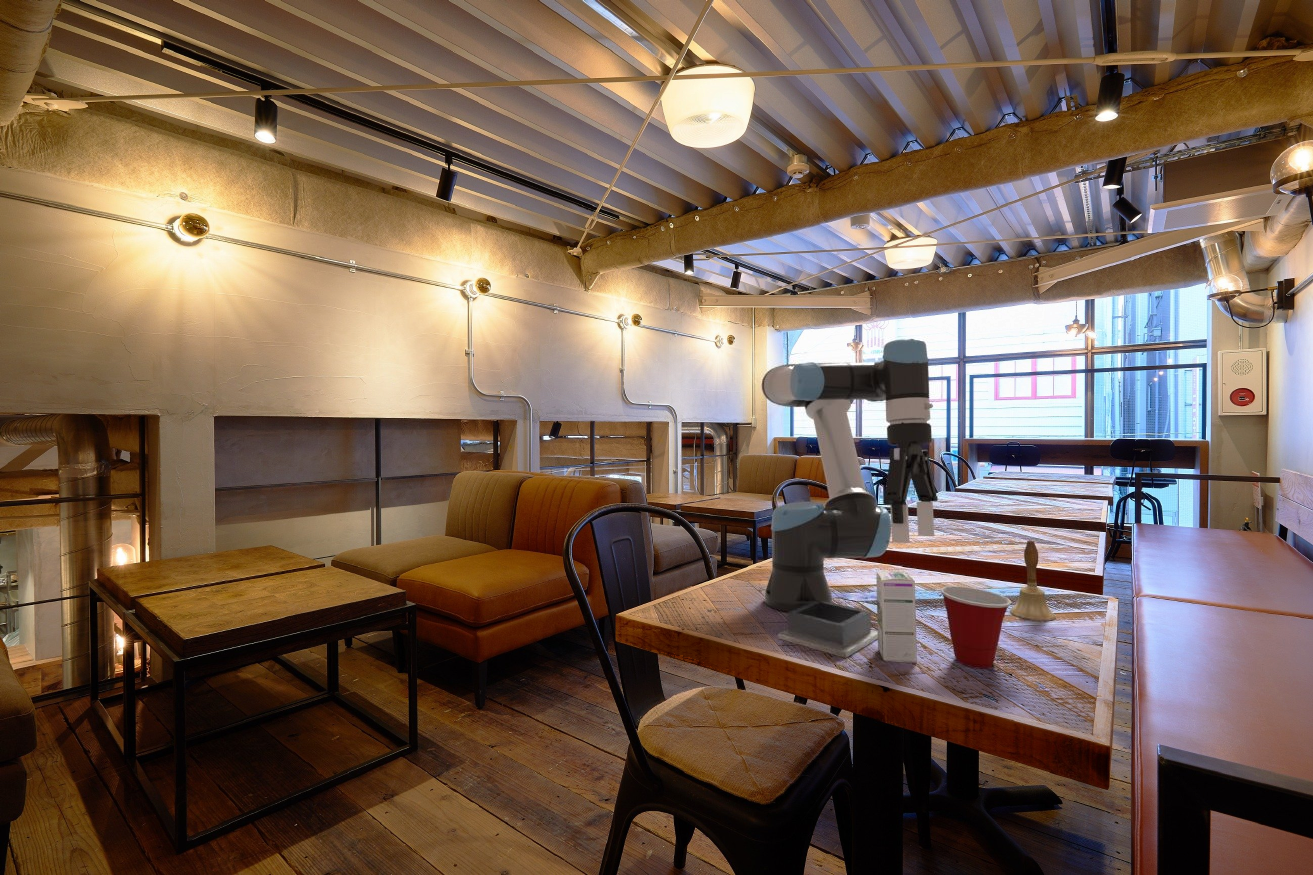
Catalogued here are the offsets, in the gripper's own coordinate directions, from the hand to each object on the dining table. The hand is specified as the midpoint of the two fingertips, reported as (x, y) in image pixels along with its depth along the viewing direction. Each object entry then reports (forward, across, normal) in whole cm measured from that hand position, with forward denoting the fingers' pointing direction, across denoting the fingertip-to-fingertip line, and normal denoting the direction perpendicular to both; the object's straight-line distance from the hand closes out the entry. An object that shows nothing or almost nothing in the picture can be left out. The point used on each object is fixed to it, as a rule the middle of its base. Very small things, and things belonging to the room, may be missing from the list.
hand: (914, 539), depth 105 cm
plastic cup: (+21, +3, -8) cm, 23 cm away
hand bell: (+19, +38, -11) cm, 44 cm away
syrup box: (+21, -3, +3) cm, 21 cm away
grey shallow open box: (+20, -3, +16) cm, 25 cm away
